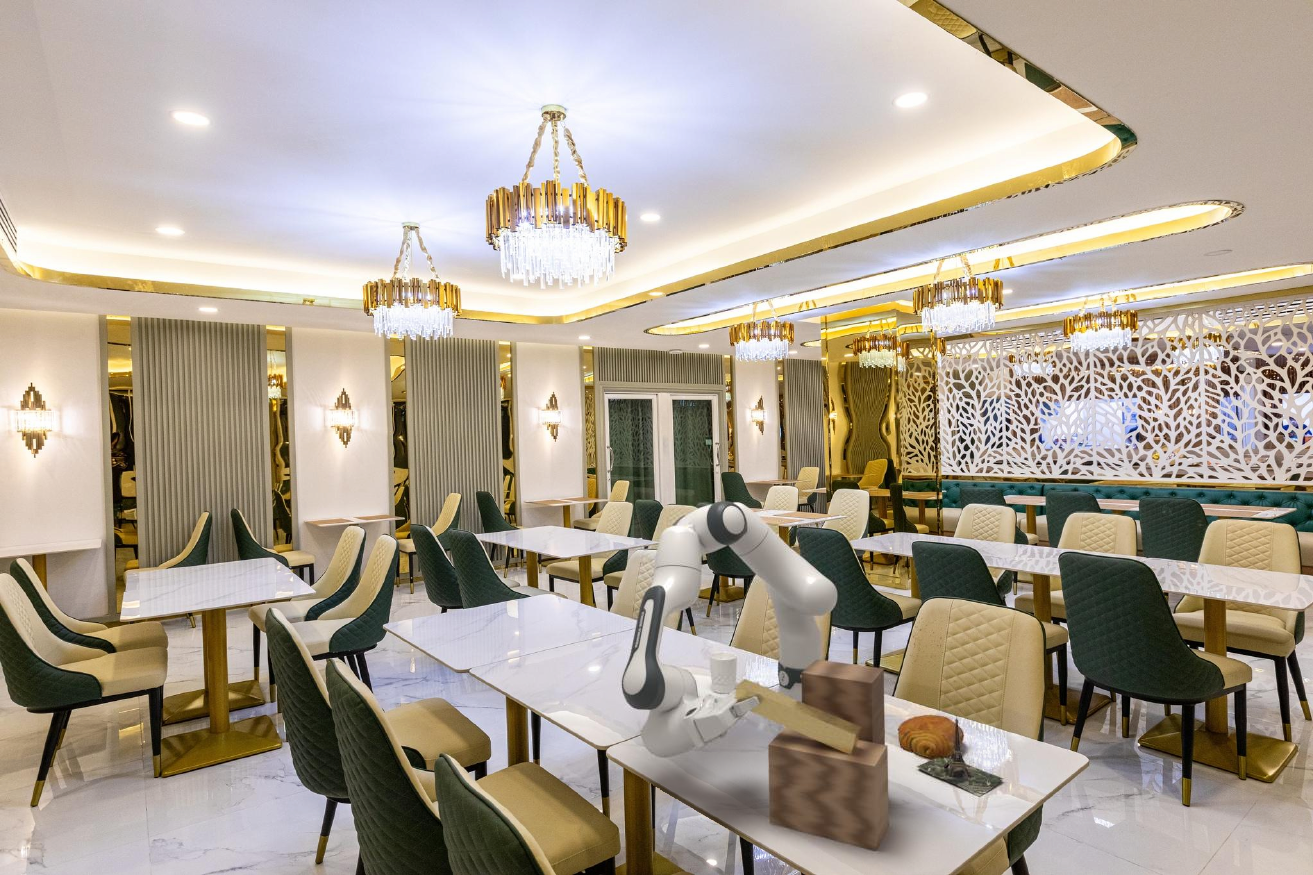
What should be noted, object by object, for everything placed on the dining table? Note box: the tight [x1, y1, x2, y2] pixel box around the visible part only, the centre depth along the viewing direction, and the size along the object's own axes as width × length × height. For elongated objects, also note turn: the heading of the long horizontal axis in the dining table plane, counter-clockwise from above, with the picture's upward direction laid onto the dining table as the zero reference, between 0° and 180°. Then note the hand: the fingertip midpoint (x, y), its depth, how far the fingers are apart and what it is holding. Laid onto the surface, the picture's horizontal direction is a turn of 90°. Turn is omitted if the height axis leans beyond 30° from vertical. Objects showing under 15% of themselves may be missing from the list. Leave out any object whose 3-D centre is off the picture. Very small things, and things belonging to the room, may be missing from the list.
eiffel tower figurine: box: [916, 717, 1004, 798], centre depth 159 cm, size 15×10×13 cm
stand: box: [767, 659, 890, 852], centre depth 145 cm, size 20×21×26 cm
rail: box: [734, 678, 861, 755], centre depth 143 cm, size 24×4×4 cm, turn 60°
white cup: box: [709, 651, 738, 695], centre depth 215 cm, size 8×8×10 cm
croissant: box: [897, 714, 965, 760], centre depth 175 cm, size 14×16×8 cm
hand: (763, 695), depth 146 cm, fingers closed on rail, 4 cm apart
